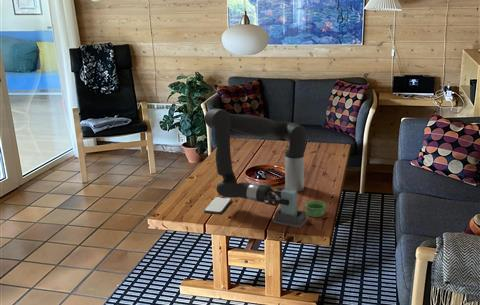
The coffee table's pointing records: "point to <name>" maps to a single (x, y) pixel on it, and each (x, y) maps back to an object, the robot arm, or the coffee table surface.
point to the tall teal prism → (292, 198)
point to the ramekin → (315, 208)
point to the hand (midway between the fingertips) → (293, 199)
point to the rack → (290, 219)
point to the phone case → (218, 205)
